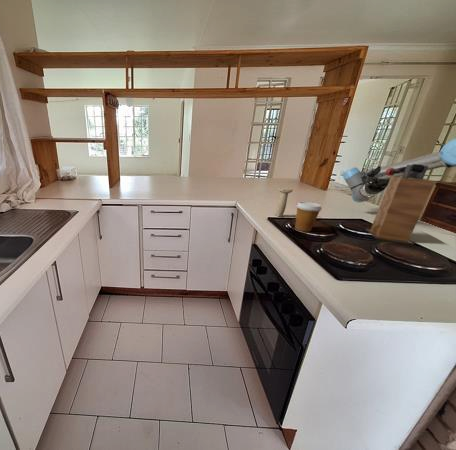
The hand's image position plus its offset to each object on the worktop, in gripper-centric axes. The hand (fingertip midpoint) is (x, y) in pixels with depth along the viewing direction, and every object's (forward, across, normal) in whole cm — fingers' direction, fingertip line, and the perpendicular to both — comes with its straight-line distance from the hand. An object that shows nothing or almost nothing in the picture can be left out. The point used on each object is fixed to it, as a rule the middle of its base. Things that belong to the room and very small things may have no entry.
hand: (399, 170), depth 102 cm
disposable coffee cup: (+1, +33, -33) cm, 47 cm away
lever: (+2, 0, -3) cm, 3 cm away
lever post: (-4, 0, -30) cm, 30 cm away
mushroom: (-15, +42, -24) cm, 50 cm away
